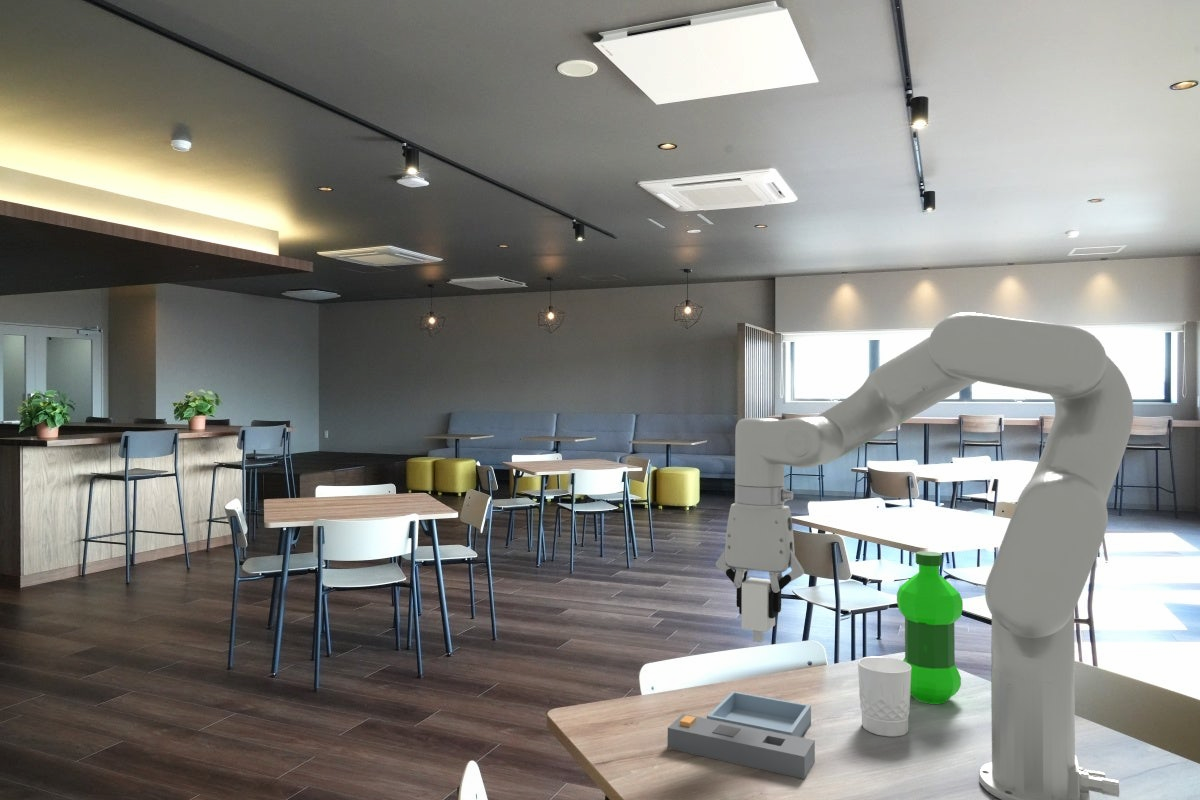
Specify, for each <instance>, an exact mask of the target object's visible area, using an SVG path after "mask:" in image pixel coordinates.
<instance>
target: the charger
mask: <svg viewBox="0 0 1200 800" xmlns="http://www.w3.org/2000/svg"><path fill="white" fill-rule="evenodd" d="M769 592H771V582H770V578H762V577H761V578H760V577H751V576H750V577H749V578H747V580H746V581H744V582H742V614H741V629H744V630H750V631H752V642H756V643H762V642H764V641H765V633H768V632H769V631H770V630H771V629H772V628H773V627H775V625H776V616H775V617H774V618H769Z"/></svg>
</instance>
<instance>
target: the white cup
mask: <svg viewBox="0 0 1200 800" xmlns="http://www.w3.org/2000/svg"><path fill="white" fill-rule="evenodd" d="M857 669H858V672H857V673H858V688H859V690H858V691H859V692H858V693H859V701H860V702H859V703H860V709H861V723H862V724H861V725H862V728H863V729H865V731H867V732H869V733H872V734H874V735H876V736H881V737H893V738H894V737H901V736H904V735H906V734H907V733H908V732H909V714H910V704H911V669H912V667H911V665H910V664H908V663H906V662H904V661H903V660H901V659H898V658H894V657H887V656H875V655H874V656H866V657H865V656H864V657H862V658H859V659H858V660H857Z"/></svg>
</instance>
